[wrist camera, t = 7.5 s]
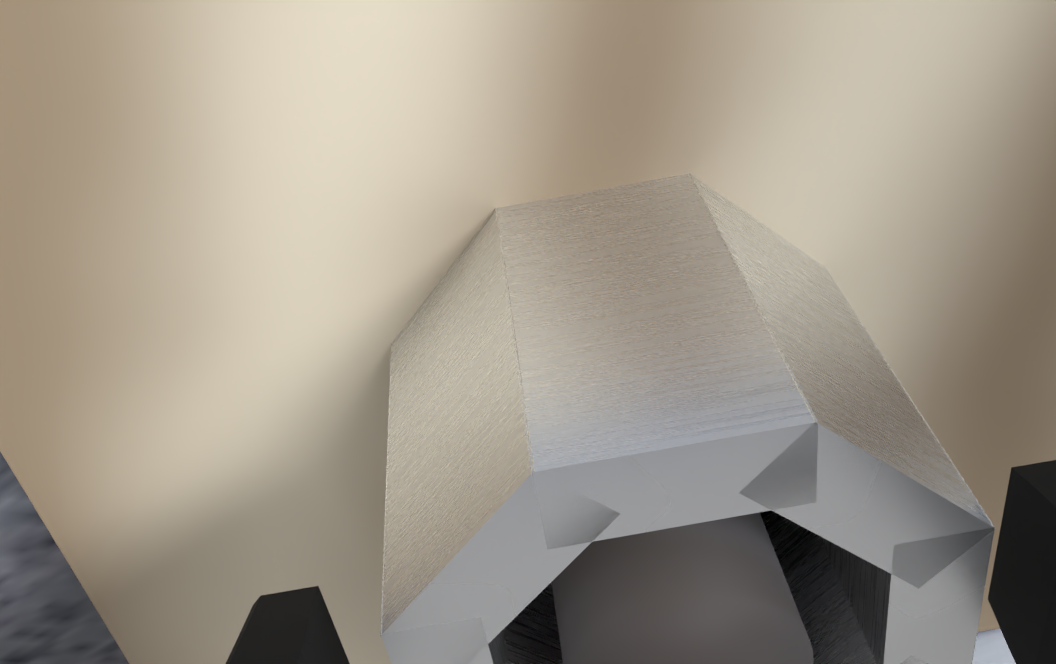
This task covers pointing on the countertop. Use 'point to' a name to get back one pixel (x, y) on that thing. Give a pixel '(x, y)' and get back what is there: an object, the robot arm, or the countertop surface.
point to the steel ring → (660, 433)
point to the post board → (438, 240)
